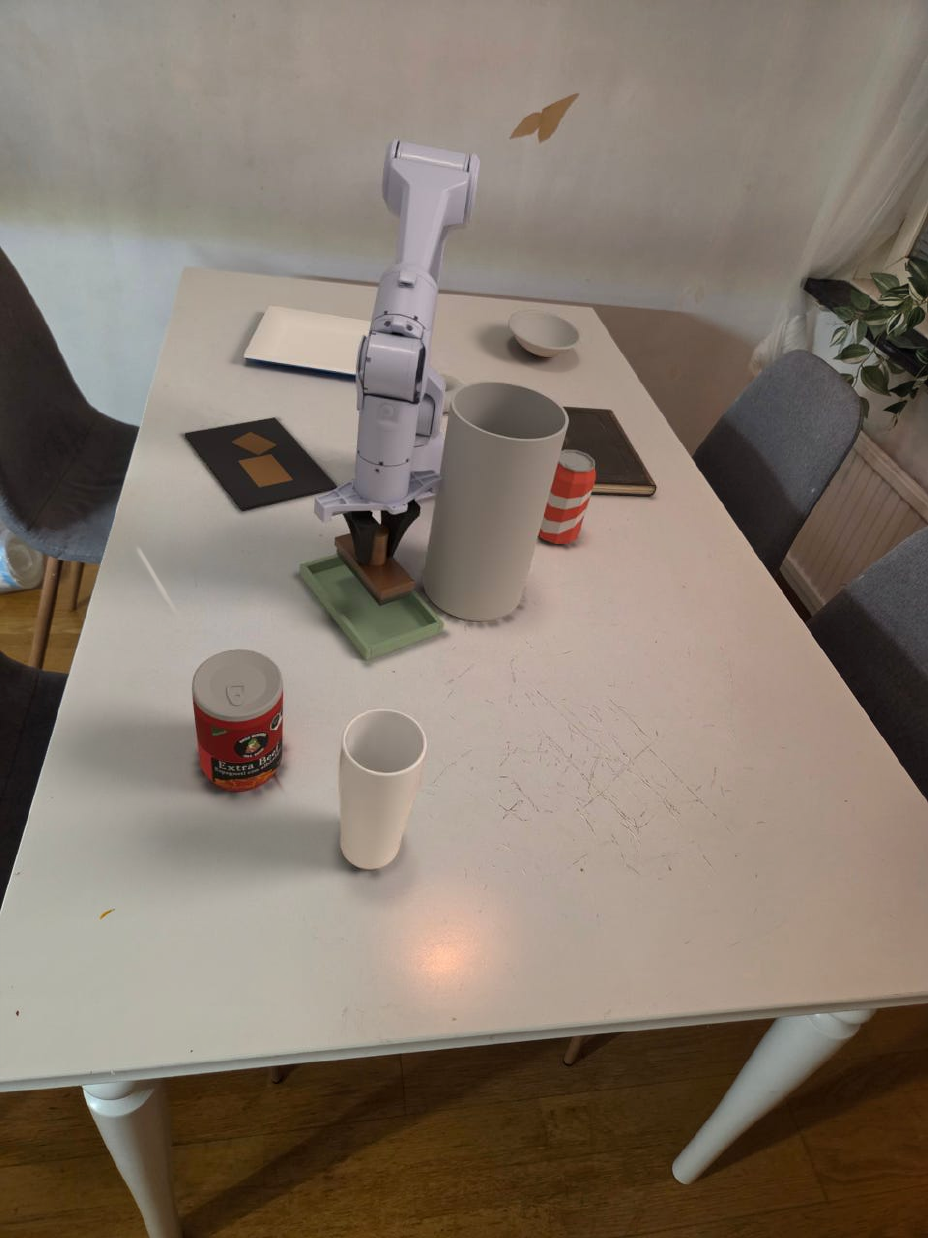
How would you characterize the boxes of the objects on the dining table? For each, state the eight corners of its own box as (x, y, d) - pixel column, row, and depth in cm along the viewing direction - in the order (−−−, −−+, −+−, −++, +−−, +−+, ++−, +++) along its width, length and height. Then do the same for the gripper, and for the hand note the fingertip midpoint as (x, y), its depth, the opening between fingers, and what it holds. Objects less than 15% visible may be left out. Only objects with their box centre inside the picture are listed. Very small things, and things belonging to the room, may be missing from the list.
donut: (400, 408, 132) (459, 421, 131) (402, 388, 129) (462, 402, 129) (415, 383, 139) (470, 395, 139) (417, 364, 137) (473, 376, 136)
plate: (376, 387, 135) (377, 376, 134) (242, 367, 133) (242, 355, 132) (387, 333, 152) (388, 323, 151) (268, 315, 150) (268, 304, 148)
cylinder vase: (471, 547, 106) (507, 371, 90) (540, 598, 101) (592, 421, 84) (401, 581, 99) (426, 396, 82) (471, 639, 93) (513, 453, 77)
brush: (333, 553, 94) (336, 508, 89) (366, 543, 96) (370, 499, 92) (379, 608, 88) (384, 563, 84) (412, 597, 90) (419, 553, 86)
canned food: (212, 804, 72) (204, 726, 65) (190, 739, 77) (180, 659, 70) (294, 779, 75) (296, 702, 68) (268, 718, 80) (267, 640, 73)
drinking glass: (332, 812, 73) (341, 705, 63) (406, 813, 75) (426, 708, 65) (330, 880, 68) (339, 775, 58) (408, 880, 70) (430, 777, 60)
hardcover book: (555, 493, 120) (559, 480, 118) (522, 415, 136) (525, 403, 134) (653, 497, 123) (658, 484, 122) (610, 421, 140) (614, 409, 138)
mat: (274, 419, 123) (274, 416, 122) (336, 488, 112) (337, 485, 111) (184, 435, 115) (184, 432, 115) (241, 511, 104) (241, 507, 104)
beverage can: (524, 531, 111) (543, 456, 103) (551, 515, 115) (572, 442, 107) (557, 553, 109) (580, 478, 101) (585, 536, 112) (608, 463, 104)
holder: (372, 555, 102) (373, 543, 101) (441, 635, 93) (444, 623, 92) (299, 576, 97) (299, 564, 96) (365, 662, 88) (366, 650, 87)
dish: (501, 329, 162) (506, 305, 159) (570, 339, 164) (576, 315, 160) (505, 367, 149) (511, 342, 146) (580, 378, 151) (587, 353, 147)
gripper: (340, 486, 75) (333, 594, 84) (465, 457, 82) (446, 559, 92) (305, 449, 79) (303, 556, 88) (428, 424, 86) (414, 525, 95)
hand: (374, 555), depth 90 cm, fingers closed on brush, 2 cm apart
